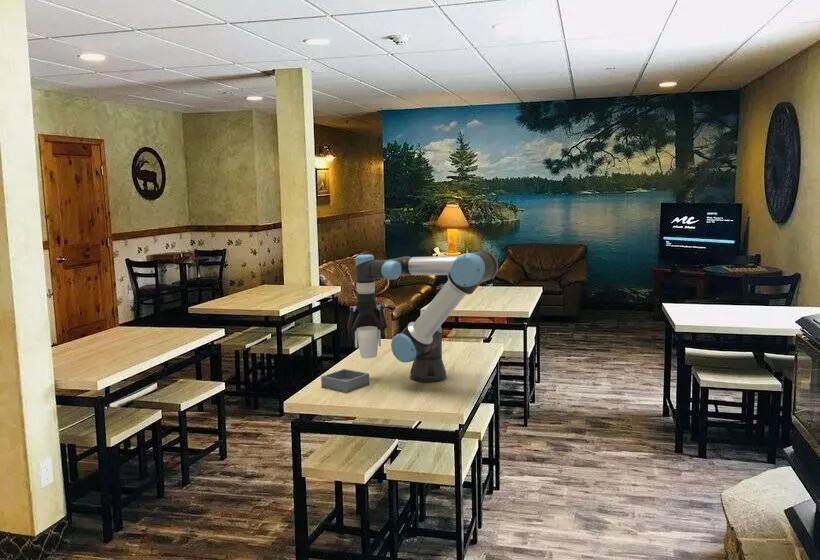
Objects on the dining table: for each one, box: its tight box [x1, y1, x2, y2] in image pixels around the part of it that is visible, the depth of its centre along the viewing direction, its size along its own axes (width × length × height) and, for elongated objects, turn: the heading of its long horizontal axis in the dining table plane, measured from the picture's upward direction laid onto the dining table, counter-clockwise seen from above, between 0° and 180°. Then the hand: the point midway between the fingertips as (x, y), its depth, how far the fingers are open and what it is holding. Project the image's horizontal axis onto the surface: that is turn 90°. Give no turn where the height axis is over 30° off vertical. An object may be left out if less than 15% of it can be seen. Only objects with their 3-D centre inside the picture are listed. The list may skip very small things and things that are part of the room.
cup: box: [356, 325, 379, 359], centre depth 280 cm, size 9×9×12 cm
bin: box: [320, 368, 370, 394], centre depth 272 cm, size 14×14×4 cm
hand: (368, 346), depth 280 cm, fingers closed on cup, 9 cm apart
